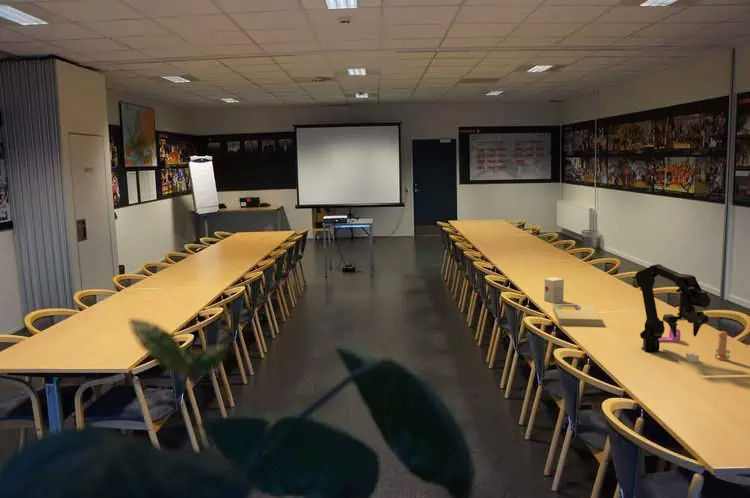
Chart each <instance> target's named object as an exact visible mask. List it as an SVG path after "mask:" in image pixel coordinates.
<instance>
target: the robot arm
mask: <svg viewBox="0 0 750 498" xmlns="http://www.w3.org/2000/svg"><path fill="white" fill-rule="evenodd" d="M658 276H660V277H662V278H664V279H666V280H669V281H671V282H673V283H674V285H675V286H677V287H678V288H677V289H676V290H675V292H677V293H679V303H678V304H677V307H678V312H677V316H676V315H673V314H671V313H670V314H664V315H663V316H662V320H661V319H660V318H659V316H658V311H657V305H656V300H655V293H654V289H653V288H654V286H655V283H656V281H655V279H656V277H658ZM634 278H635V280H636V283H637V286H638V287H639V288H640V289H641V293H642V298H643V305H644V311H645V316H646V319H645V322H644V330H642V332H640V333H639V335H640V339H642V341H643V342H642V347H641V349H642V350H643V351H644V352H646V353H660V352H661V350H660V344H661V342H659V339H658V338H661V337H663V335H664V333H665V329H666V328H665V323H667V324H668V326H669V329H670V328H671V331H672V333H673V335H674V337H676V328H677V326H678V323H677V322H679V321H687V323H689V324H692V327H693V328H692V331H693V332H692V333H693V337H696V336H697V334H698V332H699V330H700V329H701V327H702V326H703V325H705V324H706V323H708V322H710V317H709V316H708V315H707V314H705V313H704V311H701V310H700V311H697V310H696V307H700V308H704V309H705V308H708V307H709V306H710V304H711V298H710V296H709V295H708V291H707V292H706V291H703V290H702V287H701V285H700V284H699V282H698V280H697V277H696V276H694V275H692V274H686V273H679V272H677V271H675V270H672V269H670V268H668V267H666V266H663V265H662V264H660V263H658V264H651V265H650V266H648V267H646V268H643V269H642V270H638V271H636V273H635V277H634ZM695 306H696V307H695Z"/></svg>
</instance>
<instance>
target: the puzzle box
mask: <svg viewBox="0 0 750 498" xmlns="http://www.w3.org/2000/svg"><path fill="white" fill-rule="evenodd" d="M552 312H553V314H554V317H555V319H556V321H557V323H558V326H578V327H579V326H581V327H582V326H583V327H603V322H604V321H603V318H602V316H601V315H600V313H599V312H598V310H597V309H596V308H595V306H594V305H593V304H577V303H575V304H571V303H570V304H568V303H564V304H563V303H560V304H558V303H552Z"/></svg>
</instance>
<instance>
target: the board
mask: <svg viewBox="0 0 750 498" xmlns="http://www.w3.org/2000/svg"><path fill="white" fill-rule="evenodd" d="M717 355H718V349H717V348H716V349H715V355H714V361H718V360H717V359H716V356H717ZM730 355H731V350H727V349H726V356H727V357H728V358H727V360H726V361H725V362H729V361H730Z"/></svg>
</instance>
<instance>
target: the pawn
mask: <svg viewBox="0 0 750 498" xmlns="http://www.w3.org/2000/svg"><path fill="white" fill-rule="evenodd" d="M727 341H728V332H727V331H726V330H725V331H724V330H721V331H719V332H718V345H717V346H718V355H717V356H716V359H717V360H716V361H722V362H723V361H724V362H727V361H726V360H727V358H728V357H727V356H726V350H727V344H728V343H727Z"/></svg>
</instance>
